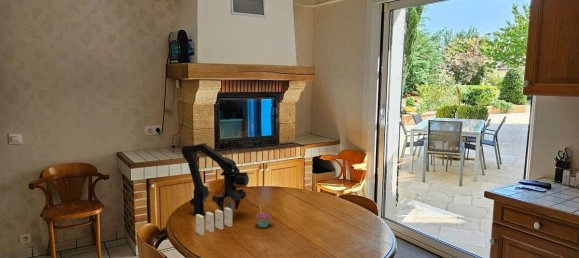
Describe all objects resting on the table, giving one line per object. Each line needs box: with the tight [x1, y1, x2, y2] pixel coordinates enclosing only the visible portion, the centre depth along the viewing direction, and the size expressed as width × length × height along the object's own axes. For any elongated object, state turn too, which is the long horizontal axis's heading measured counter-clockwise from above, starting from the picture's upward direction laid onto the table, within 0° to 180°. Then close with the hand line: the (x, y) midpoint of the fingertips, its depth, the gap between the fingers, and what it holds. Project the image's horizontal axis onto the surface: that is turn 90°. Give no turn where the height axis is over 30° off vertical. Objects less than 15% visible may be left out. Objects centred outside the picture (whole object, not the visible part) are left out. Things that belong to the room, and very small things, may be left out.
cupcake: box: [254, 204, 273, 228], centre depth 205 cm, size 9×8×12 cm
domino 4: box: [223, 206, 233, 228], centre depth 205 cm, size 2×5×9 cm, turn 43°
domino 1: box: [195, 214, 205, 236], centre depth 194 cm, size 2×5×9 cm, turn 43°
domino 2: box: [205, 211, 215, 233], centre depth 198 cm, size 2×5×9 cm, turn 42°
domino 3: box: [214, 209, 224, 230], centre depth 201 cm, size 2×5×9 cm, turn 42°
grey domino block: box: [225, 199, 234, 219], centre depth 217 cm, size 2×5×9 cm, turn 42°
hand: (229, 211), depth 218 cm, fingers open, 9 cm apart
